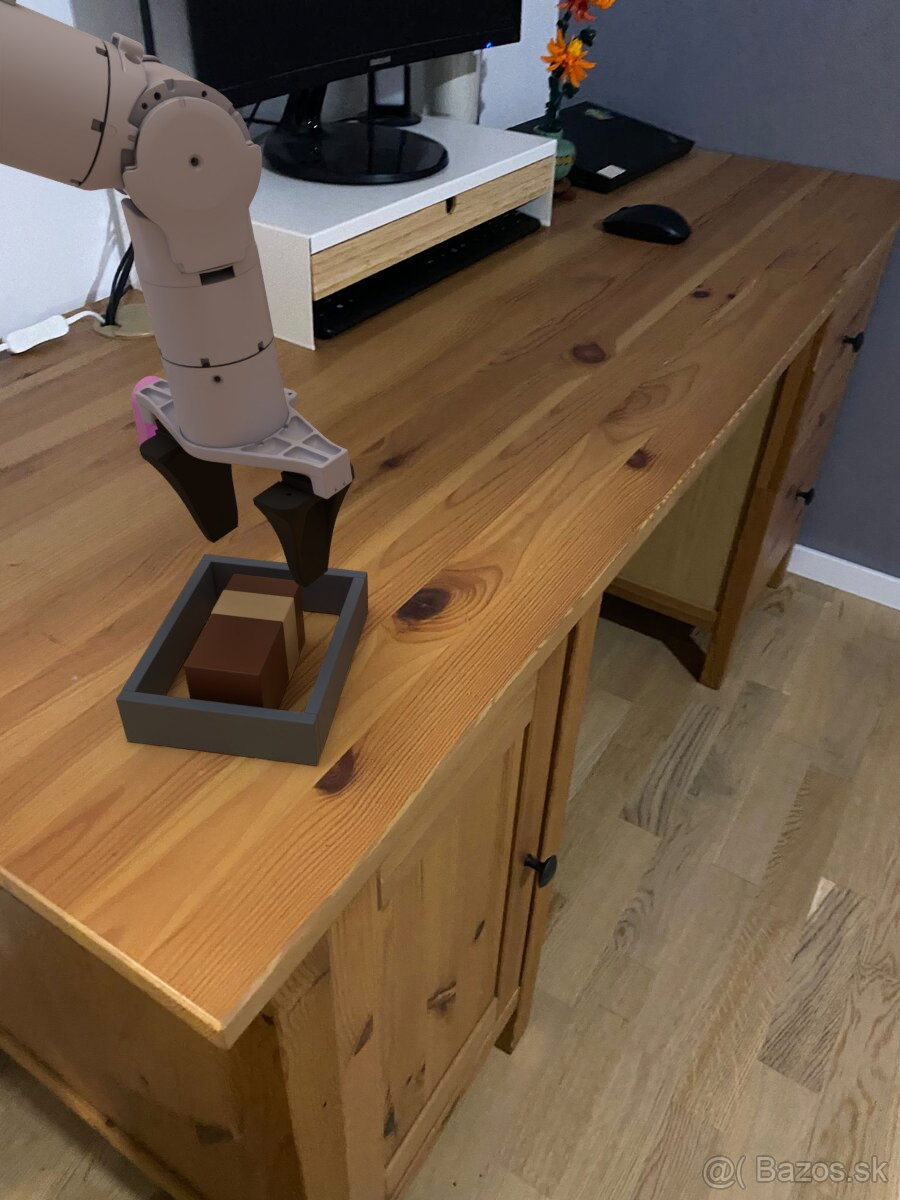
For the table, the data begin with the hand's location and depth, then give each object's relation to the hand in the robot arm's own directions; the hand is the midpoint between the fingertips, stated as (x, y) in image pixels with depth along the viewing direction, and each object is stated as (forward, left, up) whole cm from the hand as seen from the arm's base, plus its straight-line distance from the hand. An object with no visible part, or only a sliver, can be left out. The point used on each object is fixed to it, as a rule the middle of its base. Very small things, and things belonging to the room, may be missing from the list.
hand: (266, 554), depth 55 cm
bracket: (-14, +28, -9) cm, 32 cm away
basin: (-1, -1, -9) cm, 9 cm away
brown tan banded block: (-1, -2, -9) cm, 9 cm away
